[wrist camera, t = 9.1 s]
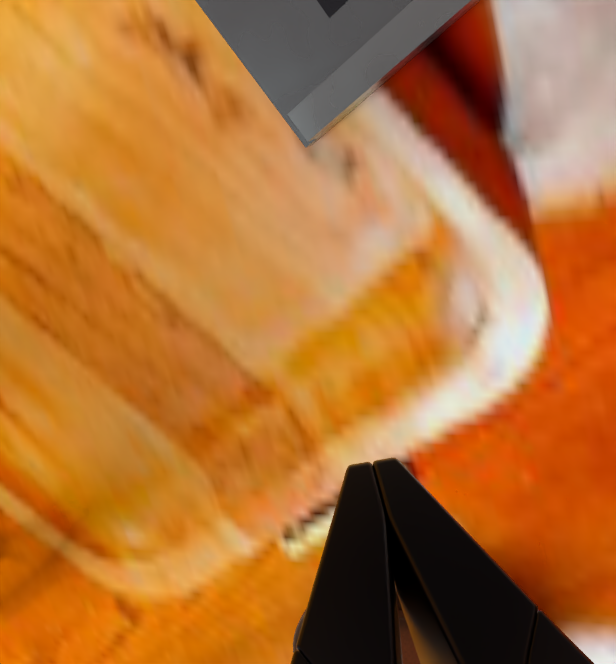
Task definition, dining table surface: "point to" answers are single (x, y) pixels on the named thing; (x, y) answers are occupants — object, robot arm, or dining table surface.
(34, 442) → the dining table surface
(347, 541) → the robot arm
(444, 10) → the console
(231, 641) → the dining table surface
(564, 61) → the dining table surface
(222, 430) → the dining table surface
